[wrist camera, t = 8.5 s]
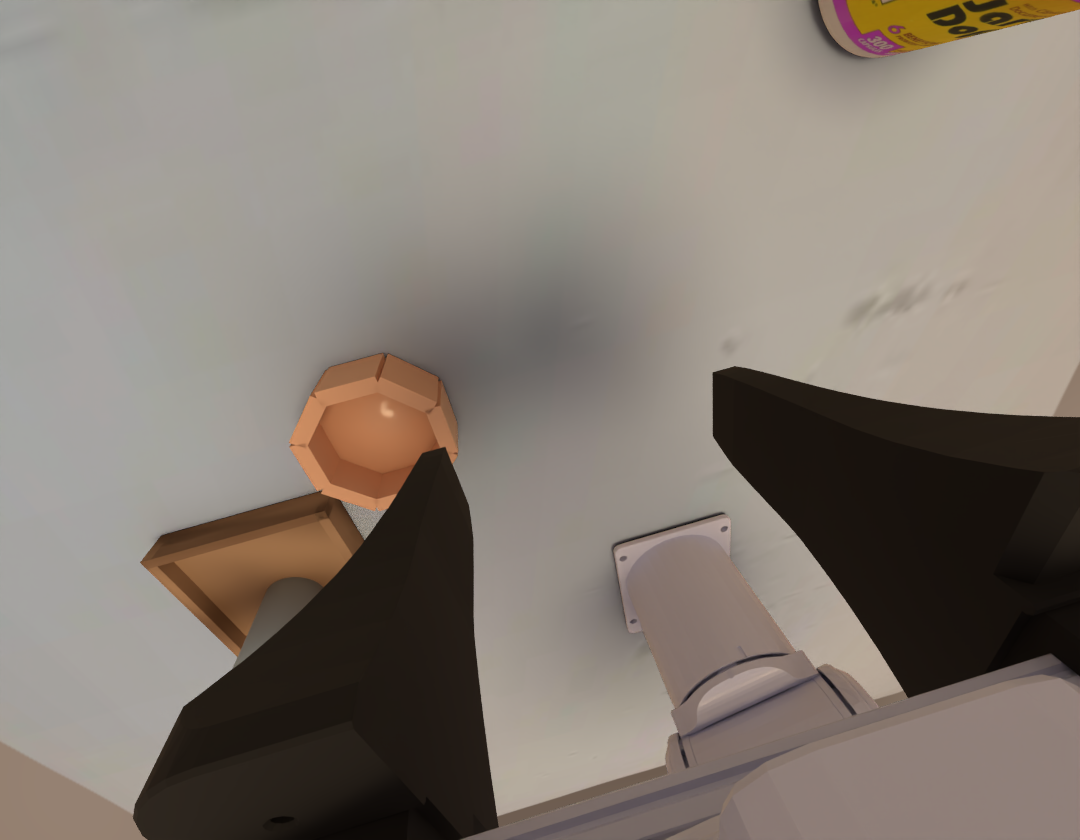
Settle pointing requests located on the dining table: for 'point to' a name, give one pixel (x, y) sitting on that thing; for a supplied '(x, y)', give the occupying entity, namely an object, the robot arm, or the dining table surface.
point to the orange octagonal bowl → (372, 428)
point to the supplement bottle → (926, 21)
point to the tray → (252, 559)
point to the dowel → (278, 611)
